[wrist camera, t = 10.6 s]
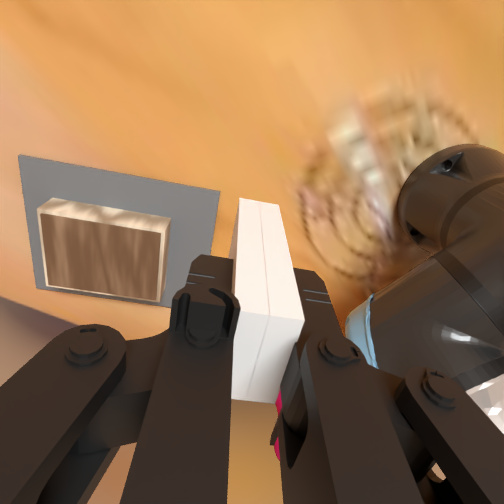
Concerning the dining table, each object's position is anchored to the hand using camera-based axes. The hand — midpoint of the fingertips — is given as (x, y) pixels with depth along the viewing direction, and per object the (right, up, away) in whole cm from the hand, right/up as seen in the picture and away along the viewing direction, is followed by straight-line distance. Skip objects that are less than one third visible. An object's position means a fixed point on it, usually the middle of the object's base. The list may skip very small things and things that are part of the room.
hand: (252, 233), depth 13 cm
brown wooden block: (-13, -2, +35) cm, 37 cm away
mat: (-19, +1, +36) cm, 41 cm away
